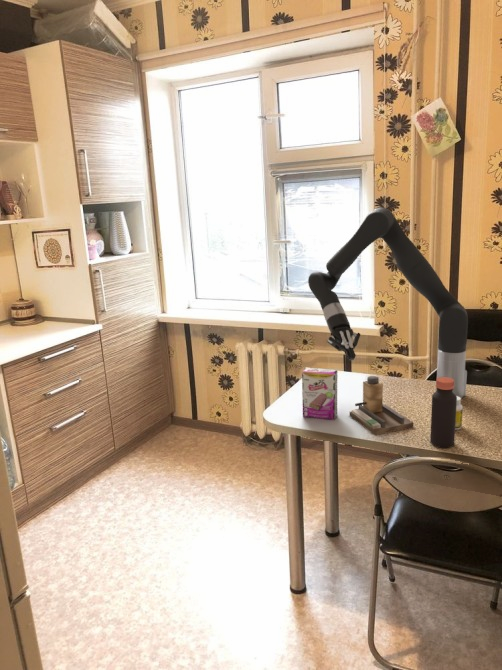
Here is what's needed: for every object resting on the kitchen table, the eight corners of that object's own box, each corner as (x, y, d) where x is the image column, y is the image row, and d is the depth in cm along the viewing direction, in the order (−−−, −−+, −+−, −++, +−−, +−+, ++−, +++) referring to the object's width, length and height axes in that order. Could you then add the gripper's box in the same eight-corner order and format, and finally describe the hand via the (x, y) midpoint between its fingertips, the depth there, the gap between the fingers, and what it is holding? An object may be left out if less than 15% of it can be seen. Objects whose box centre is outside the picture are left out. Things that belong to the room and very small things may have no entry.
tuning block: (375, 407, 188) (376, 374, 185) (382, 411, 184) (382, 378, 181) (352, 411, 185) (352, 379, 182) (358, 416, 182) (358, 382, 179)
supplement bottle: (463, 430, 172) (464, 401, 169) (444, 430, 173) (446, 400, 170) (460, 423, 177) (461, 394, 174) (442, 422, 178) (443, 394, 175)
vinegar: (457, 448, 161) (461, 383, 156) (434, 448, 161) (437, 384, 156) (449, 437, 168) (453, 375, 162) (427, 438, 168) (429, 376, 163)
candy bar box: (302, 417, 187) (301, 371, 183) (305, 411, 192) (304, 366, 187) (335, 420, 184) (334, 373, 179) (337, 414, 188) (337, 368, 184)
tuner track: (385, 408, 191) (386, 399, 190) (413, 426, 176) (413, 416, 175) (349, 415, 187) (349, 406, 186) (374, 434, 172) (374, 424, 171)
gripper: (322, 314, 197) (338, 356, 189) (355, 310, 201) (373, 351, 193) (316, 325, 204) (331, 367, 196) (348, 321, 208) (365, 361, 200)
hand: (352, 359), depth 195 cm, fingers closed
